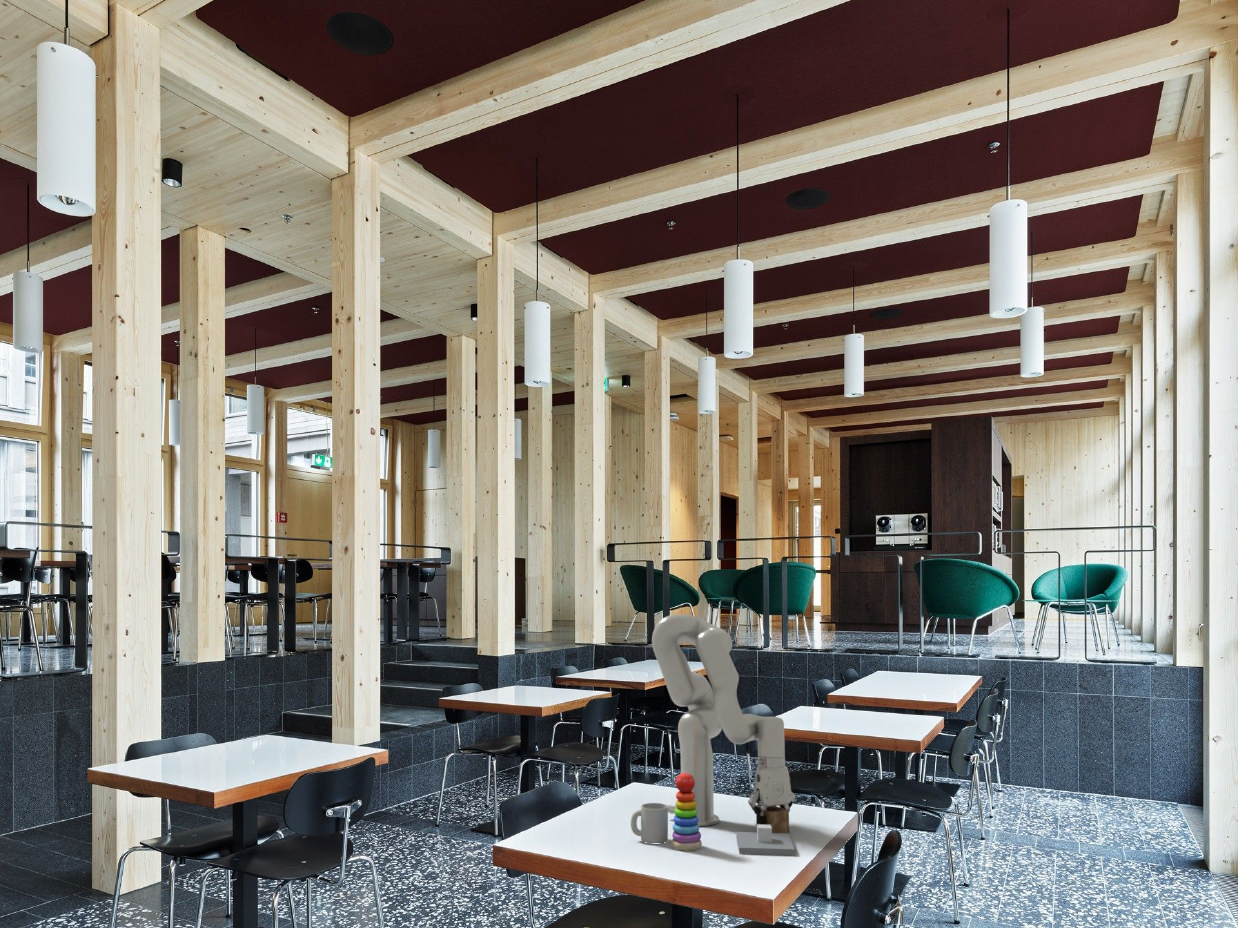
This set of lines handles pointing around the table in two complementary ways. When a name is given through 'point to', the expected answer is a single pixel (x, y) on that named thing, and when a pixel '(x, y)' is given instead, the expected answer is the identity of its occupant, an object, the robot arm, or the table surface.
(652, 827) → the cup
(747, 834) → the board
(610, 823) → the table surface
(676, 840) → the stacking toy
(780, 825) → the wooden cube shelf
